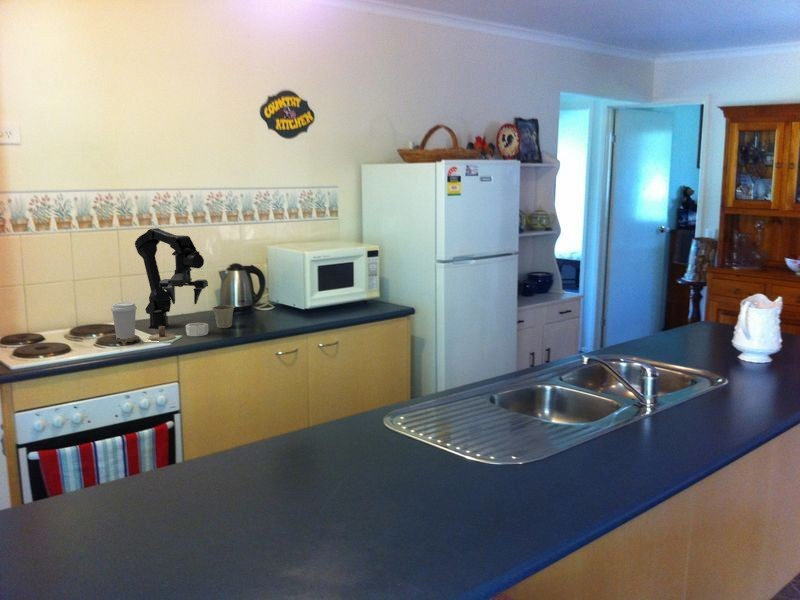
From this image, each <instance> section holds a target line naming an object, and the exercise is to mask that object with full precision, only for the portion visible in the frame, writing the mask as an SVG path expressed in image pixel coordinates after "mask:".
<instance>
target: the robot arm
mask: <svg viewBox="0 0 800 600" xmlns="http://www.w3.org/2000/svg"><path fill="white" fill-rule="evenodd" d="M160 242H162V243H164V244H167V245H169V247H170V248H171V249H172V250H174V251H173V252H172V253H171V255H172V256H174V259H175V269H174V273H173V275H172V277H171V278H164V279H161V275H160V272H159V266H158V263H157V258H156V254H157V251H158V245H159V244H160ZM134 247H135V249H136V251H137V254H138V255H139V256H140V257H141V258H142V260H143V263H144V268H145V272H146V276H147V280H148V283H149V287H150V293H149V297H148V300H149V301H148V304H147V306H146V308H145V312H146V314H147V315H149V326H148V328H149V329H159V326H165V328H166V327H168V326H169V316H168V315H167V313H170V311H171V307H172V305H175V304H176V287H179V288H182V287H184V286H186V287H187V286H188V287H189V286H190V287H194V288H193V292H194V293H193V295H194V296H193V303H194V304H193V305H197V303H198V300H199V299H200V295H201V293H202V291H203V290H204V289H206V288H207V287H208V286H209V282H208V280H207V279H196V280H193V278H191V271H192V269H201V268H202V267H203V266H204V264H205V259H204V257H203V256H202V254H200V251H198V250H197V247H196V246H195V245H194V242H193V240H192V239H191V236H189V235H180V234H179V235H178V234H177V235H176V234H174V233H171V232H168V231H165V230H164V229H163V230H162V229H161V228H150V229H147V231H146V232H145V233H143V234H141V235H139V236H138V237H137V238H136V240H135V241H134ZM192 280H193V281H192Z"/></svg>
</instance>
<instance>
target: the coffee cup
mask: <svg viewBox="0 0 800 600" xmlns="http://www.w3.org/2000/svg"><path fill="white" fill-rule="evenodd" d="M137 309H138V307H137V306H136V304H135V303H134V302H129V301H128V302H127V301H126V302H116V303H113V304H112V306H111V309H110V311H111V312H112V319H113V323H114V330H115V337H116V339H117V338H120V339H128V338H132V337H135V338H136V315H137V313H136V310H137Z"/></svg>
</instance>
